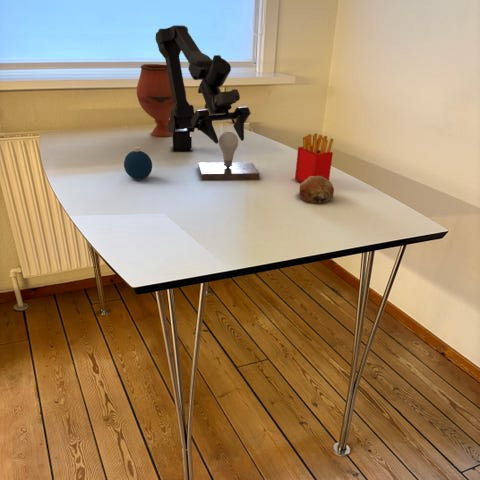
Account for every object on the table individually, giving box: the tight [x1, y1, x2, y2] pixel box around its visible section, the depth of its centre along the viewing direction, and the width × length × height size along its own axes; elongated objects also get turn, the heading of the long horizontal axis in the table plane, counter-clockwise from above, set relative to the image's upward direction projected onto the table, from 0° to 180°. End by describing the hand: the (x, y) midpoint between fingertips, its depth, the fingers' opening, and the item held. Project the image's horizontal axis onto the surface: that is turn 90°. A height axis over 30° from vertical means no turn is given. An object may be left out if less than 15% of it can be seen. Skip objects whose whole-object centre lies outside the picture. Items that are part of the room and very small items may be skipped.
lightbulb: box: [218, 131, 239, 168], centre depth 154 cm, size 6×6×11 cm
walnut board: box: [197, 162, 260, 181], centre depth 157 cm, size 18×12×2 cm, turn 99°
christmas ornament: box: [123, 146, 153, 181], centre depth 147 cm, size 8×8×10 cm
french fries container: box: [294, 132, 334, 184], centre depth 150 cm, size 7×9×14 cm
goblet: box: [136, 63, 187, 137], centre depth 193 cm, size 19×19×25 cm
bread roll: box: [298, 176, 335, 205], centre depth 140 cm, size 10×10×8 cm
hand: (230, 141), depth 152 cm, fingers open, 9 cm apart
